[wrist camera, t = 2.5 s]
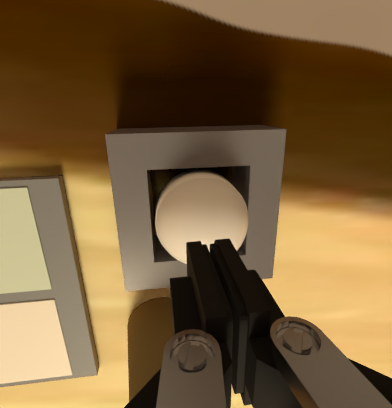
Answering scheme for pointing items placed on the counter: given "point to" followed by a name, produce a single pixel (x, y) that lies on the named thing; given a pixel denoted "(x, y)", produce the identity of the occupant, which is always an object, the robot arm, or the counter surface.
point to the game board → (41, 287)
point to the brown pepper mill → (147, 341)
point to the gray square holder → (193, 158)
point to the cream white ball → (199, 212)
